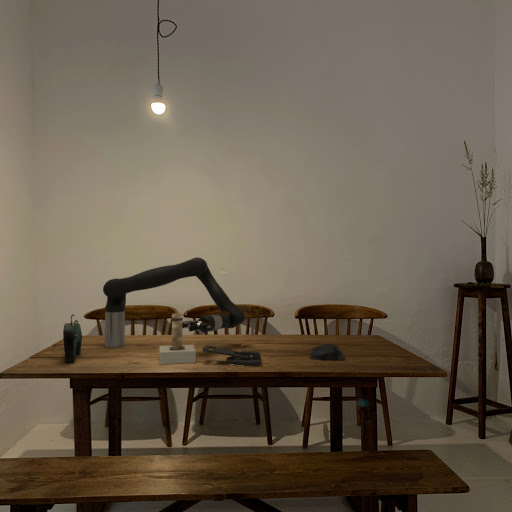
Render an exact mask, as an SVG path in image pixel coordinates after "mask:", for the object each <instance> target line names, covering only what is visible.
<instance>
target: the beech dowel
mask: <svg viewBox="0 0 512 512" xmlns="http://www.w3.org/2000/svg"><path fill="white" fill-rule="evenodd" d="M183 317H184V316H183V313H181V312H180V313H179V312H177V313H172V314H171V345H172V350H183V346H182V345H183V328H182V322H183V321H184V320H183Z"/></svg>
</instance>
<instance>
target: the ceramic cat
mask: <svg viewBox="0 0 512 512" xmlns="http://www.w3.org/2000/svg"><path fill="white" fill-rule="evenodd" d="M74 317H75V314H71V316H70V322H67V323H64V324H63V330H62V331H63V333H62V336H63V337H62V340H63V350H64V363H65V364H67V365H68V364H69V365H70V363H72V364H75V362H76V355H78V356H81V354H82V350H81V349H82V342H83V332H82V328H81V327H82V326H81V325H80V323H79V322H78V319H75V320H74V321H72V320H73V319H72V318H74Z"/></svg>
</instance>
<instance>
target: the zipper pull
mask: <svg viewBox="0 0 512 512" xmlns="http://www.w3.org/2000/svg"><path fill="white" fill-rule="evenodd" d="M202 352H205V353H210V354H211V353H212V354H216V355H222V356H228V357H226V359H225V361H226V362H225V363H227V364H226V365H228V364H234V365H244V366H243V367H247V366H257V367H259V366H258V365H260V366H261V365H262V356H261V352H259V351H256V350H254V351H253V350H241V351H237V350H232V349H227V348H222V347H218V346H214V345H213V346H212V345H209V344H208V345H204V346H203V348H202ZM234 365H233V366H234Z"/></svg>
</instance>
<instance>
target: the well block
mask: <svg viewBox="0 0 512 512" xmlns="http://www.w3.org/2000/svg"><path fill="white" fill-rule="evenodd" d="M182 346H183V350H172V344H171V345H159V365H175V364H178V363H180V364H195V363H197V362H196V360H197V359H196V357H197V356H196V355H197V354H196V351H197V350H196V348H195V344H182ZM178 365H179V364H178Z"/></svg>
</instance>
